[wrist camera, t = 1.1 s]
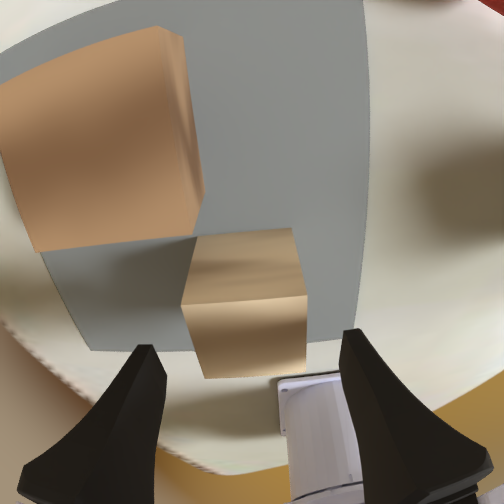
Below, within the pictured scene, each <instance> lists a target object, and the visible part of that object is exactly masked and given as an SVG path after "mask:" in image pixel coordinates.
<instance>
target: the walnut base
mask: <svg viewBox="0 0 504 504" xmlns="http://www.w3.org/2000/svg"><path fill="white" fill-rule="evenodd" d="M0 151H1V155H2V159H3V163H4V166H5V170H6V173H7V176H8V180H9V183H10V186H11V189H12V192H13V195H14V198H15V201H16V204H17V207H18V210H19V212H20V215H21V218H22V220H23V223H24V226H25V228H26V231H27V233H28V236H29V238H30V241H31V243H32V246H33V248H34V250H35V253H37V252H45V251H52V250H60V249H68V248H77V247H85V246H93V245H102V244H110V243H119V242H128V241H137V240H146V239H155V238H164V237H174V236H184V235H192V234H193V230H194V227H195V224H196V220H197V217H198V214H199V210H200V207H201V204H202V201H203V198H204V194H205V185H204V179H203V173H202V167H201V161H200V154H199V148H198V141H197V135H196V128H195V121H194V115H193V108H192V101H191V93H190V86H189V79H188V71H187V64H186V56H185V48H184V40H183V37H182V36H180V35H178V34H175V33H173V32H171V31H169V30H167V29H164V28H162V27H160V26H153V27H149V28H145V29H141V30H137V31H133V32H130V33H126V34H123V35H119V36H116V37H113V38H110V39H106V40H103V41H100V42H97V43H94V44H91V45H89V46H86V47H83V48H80V49H78V50H75V51H72V52H70V53H67V54H65V55H62V56H60V57H57V58H55V59H53V60H50V61H48V62H46V63H43V64H41V65H39V66H37V67H35V68H33V69H30V70H28V71H26V72H24V73H22V74H20V75H18V76H16V77H14V78H12V79H10V80H9V81H7V82H5V83H3V84H1V85H0Z"/></svg>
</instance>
